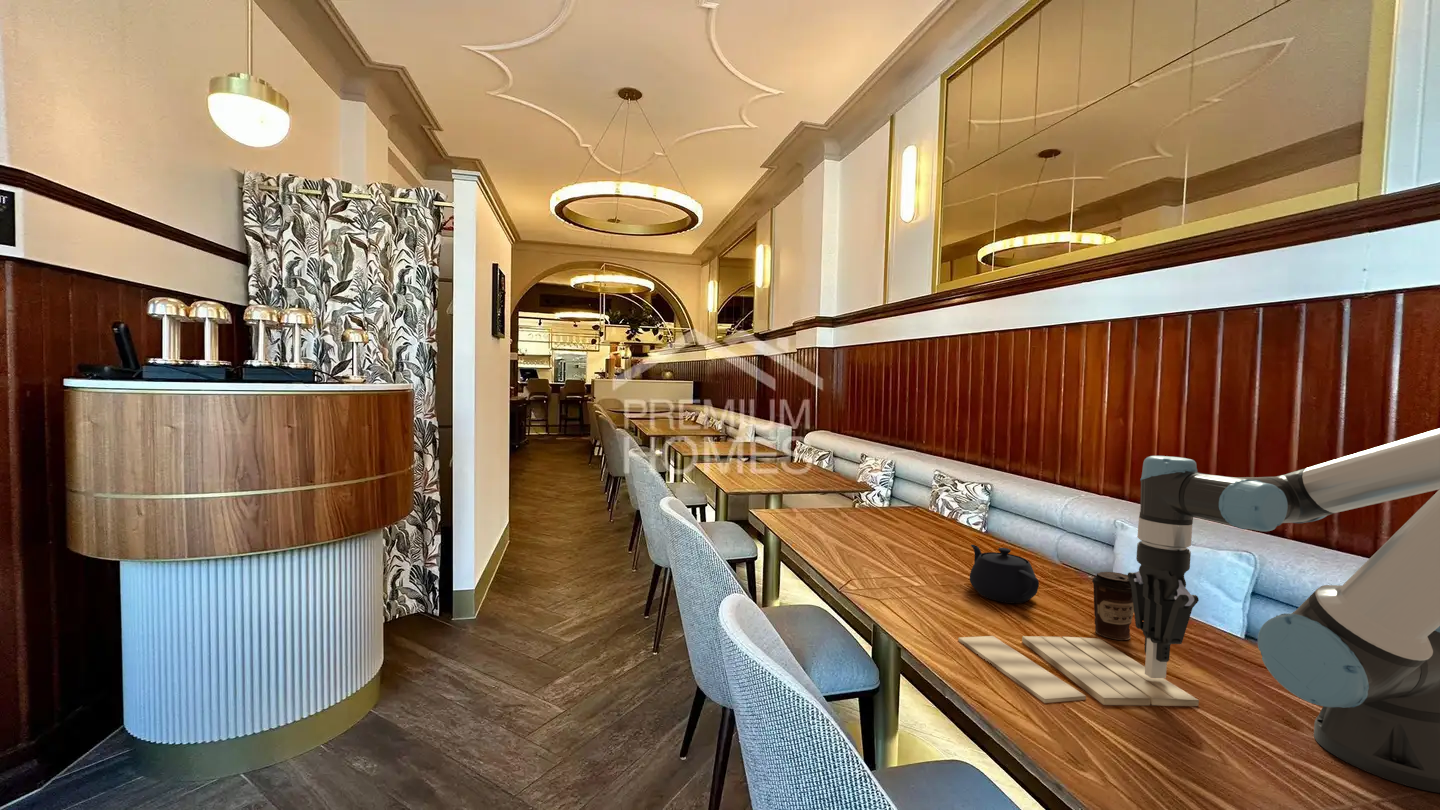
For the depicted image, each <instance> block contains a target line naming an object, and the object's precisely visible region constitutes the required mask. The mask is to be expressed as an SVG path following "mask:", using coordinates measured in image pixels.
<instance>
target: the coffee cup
mask: <svg viewBox="0 0 1440 810" xmlns="http://www.w3.org/2000/svg"><path fill="white" fill-rule="evenodd" d="M1091 582H1092V584H1093V585H1092V586H1093V609H1094V610H1093V611H1094V613H1093V614H1094V626H1095V627H1094V630H1095V633H1096V634H1097V635H1099V636H1101V637H1105V638H1109V639H1111V640H1112V639H1113V640H1118V641H1127V640H1130V639H1132V638H1131V633H1130V631H1131V629H1130V626H1131V625H1132V621H1133V620H1132V619H1133V616H1134V607H1133V598H1132V589H1131V584H1130V581H1129V578H1128V574H1126V573H1125V574H1124V573H1120V572H1114V571H1101V572H1097V573H1096V576H1094V577H1093V578H1092V581H1091Z"/></svg>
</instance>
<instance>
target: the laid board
mask: <svg viewBox="0 0 1440 810" xmlns="http://www.w3.org/2000/svg"><path fill="white" fill-rule="evenodd" d="M1021 637H1022V638H1021V641H1022V643H1023V644H1024V645H1025V646H1026V647H1028V648H1030V650H1032V651H1033V652H1034V653H1036V654H1037V655H1039V656H1040V657H1041V658H1043V660H1044V661H1046V662H1047V663H1048V664H1050V665H1051V666H1053V667H1054V668H1055V669H1056V670H1058V671H1059V672H1060V673H1062V674H1063V675H1064V676H1065V677H1067V678H1068V679H1070V680H1071V681H1072V682H1073V683H1075V684H1076V685H1077V686H1078V687H1080V688H1081V689H1082V690H1083V691H1085V692H1086V693H1088V694H1089V695H1090V696H1091V697H1092V698H1094V699H1095V700H1097V701H1098V702H1099V703H1100V704H1102V705H1103V706H1151V704H1150V698H1149V697H1148V696H1146V695H1145V694H1143V693H1142V692H1140V691H1139V690H1137V689H1136V688H1135V687H1133V686H1132V685H1130V684H1129V683H1127V682H1126V681H1124V680H1123V679H1121V678H1120V677H1118V676H1117V675H1115V674H1114V673H1112V672H1111V671H1110V670H1108V669H1107V668H1105V667H1104V666H1102V665H1101V664H1099V663H1098V662H1096V661H1095V660H1093V659H1092V658H1090V657H1089V656H1087V655H1086V654H1085V653H1083V652H1082V651H1080V650H1079V649H1077V648H1076V647H1074V646H1073V645H1071V644H1070V643H1068V642H1067V641H1065V640H1064V639H1062V636H1043V635H1040V636H1038V635H1037V636H1036V635H1035V636H1034V635H1033V636H1032V635H1031V636H1027V635H1025V636H1024V635H1023V636H1021Z"/></svg>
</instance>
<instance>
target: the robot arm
mask: <svg viewBox="0 0 1440 810" xmlns="http://www.w3.org/2000/svg"><path fill="white" fill-rule="evenodd" d="M1139 479H1140V480H1139V481H1140V506H1139V507H1140V510H1139V517H1138V524H1137V525H1138V527H1137V537H1136V538H1137V539H1138V540H1140V541H1139V542H1137V544H1136V557H1135V559H1136V561H1137V563H1139V564H1140V565H1139V568H1138V571H1135V572H1128V573H1127V575H1128V578H1129V581H1130V584H1131V589H1132V598H1133V607H1134V613H1133V616H1134V622H1135V623H1134V624H1135V627H1136V628H1137V629H1138V630H1139V629H1140V630H1141V631H1142V634H1143V635H1144V653H1145V660H1144V661H1145V662H1144V663H1145V664H1144V666H1145V674H1146V675H1147V676H1149V677H1150V678H1164V679H1166V678H1167V669H1168V668H1167V667H1168V666H1167V664H1168V662H1169V661H1170V655H1171V654H1170V652H1171V645H1182V643H1183V641H1184V637H1185V635H1186V631H1187V627H1188V625H1189V621H1190V617H1191V614H1192V611H1193V608H1194V607H1195V606H1196V604H1198V602H1199V600H1200V599H1199V596H1198V595H1196V594H1191V593H1190V592H1189V590H1188V589H1187V588H1186V586H1187V582H1186V579H1185V574H1186V573H1187V572H1188V571H1189V570H1190V567H1191V557H1192V555H1191V554H1192V553H1191V552H1192V551H1190V547H1191V546H1192V533H1193V522H1194V519H1195V518H1197V519H1202V520H1207V521H1211V522H1215V523H1218V524H1224V525H1227V526H1232V527H1236V528H1237V529H1241V530H1252V531H1257V532H1258V531H1259V532H1266V533H1267V532H1270V531H1273V530H1275V529H1277V527H1279V526H1281V525H1282V524H1289V523H1290V524H1304V523H1306V524H1307V523H1313V522H1316V521H1319V520H1322V519H1324V518H1326V517H1327V516H1330V515H1333V514H1337V513H1340V512H1345V511H1349V510H1354V509H1358V508H1364V507H1367V506H1372V505H1377V504H1381V503H1386V502H1390V501H1393V500H1399V499H1403V498H1408V497H1412V496H1416V495H1420V494H1424V493H1425V494H1426V493H1429V492H1435V491H1436V492H1435V494H1433V495H1432V496H1431V497H1430V498H1429V499H1428V500H1427V501H1426V502H1425V503H1424V504H1423V505H1422V506H1421V507H1420V508H1419V509H1417V510H1416V512H1415V513H1414V514H1413V515H1411V517H1410V518H1409V519H1408V520H1407V521H1406V522H1405V523H1404V524H1403V525H1402V526H1401V527H1400V528H1398V530H1397V531H1395V533H1394V534H1393V535H1392V536H1391V537H1390V538H1388V540H1386V542H1385V543H1383V544H1382V546H1381V547H1379V549H1377V551H1376V552H1375V553H1374V554H1373V555H1371V557H1369V558H1368V559H1367V560H1366V561H1365V562H1364V564H1363V565H1362V566H1360V567H1359V568H1358V569H1357V571H1356V572H1354V573H1353V574H1352V575H1351V576H1350V577H1349V578H1348V579H1347V580H1346V581H1345V582H1344V583H1343V584H1342V585H1334V584H1331V585H1330V584H1329V585H1328V584H1323V585H1321V586H1319V587H1317V588H1316V590H1315V591H1314V592H1313V593H1311V594H1310V596H1308V598H1307V599H1305V601H1303V602H1302V603H1301V605H1300V606H1299V607H1298V608H1296V610H1294V611H1293V612H1290V613H1280V614H1279V615H1276V616H1274V617H1272V618H1269V619H1268V620H1267V621H1265V622H1264V623H1263V624H1262V625H1261V628H1260V629H1259V631H1258V635H1257V648H1258V650H1259V652H1260V655H1261V656H1262V658H1261V659H1262V662H1263V664H1264V666H1265V668H1266V669H1267V671H1268V672H1269V673H1270V675H1271V676H1272V677H1273V678H1274V679H1275V680H1276V681H1277V683H1279V685H1281V686H1282V687H1283V688H1284V689H1286V690H1287V691H1288V692H1290V693H1291V694H1293V695H1294V696H1296V697H1297V698H1298V699H1302V700H1303V701H1305V702H1308V703H1310V704H1313V705H1317V706H1321V707H1322V708H1321V710H1320V711H1319V714H1318V715H1317V716H1316V718H1315V720H1314V727H1313V738H1314V739H1315V741H1316V742H1317V743H1318V745H1320V746H1321V748H1324V750H1326V751H1327V752H1328V753H1330V754H1332V755H1333V756H1335V757H1337V758H1338V759H1340V760H1342V761H1343V762H1345V763H1348V764H1350V765H1352V766H1354V767H1356V768H1358V769H1360V770H1363V771H1365V772H1367V773H1369V774H1372V775H1375V776H1377V777H1380V778H1382V779H1385V780H1388V781H1391V782H1394V783H1396V784H1399V785H1404V786H1407V787H1411V788H1415V789H1417V790H1423V791H1428V792H1432V793H1438V794H1440V427H1439V428H1436V429H1432V430H1429V431H1426V432H1423V433H1419V434H1415V435H1412V436H1409V437H1405V438H1401V439H1399V440H1395V441H1393V442H1389V443H1385V444H1382V445H1379V446H1375V447H1372V448H1369V449H1366V450H1362V451H1358V452H1356V453H1353V454H1349V455H1344V456H1342V457H1341V456H1340V457H1338V458H1336V459H1335V458H1334V459H1332V460H1328V461H1326V462H1322V463H1318V464H1315V465H1312V466H1309V467H1306V468H1302V469H1298V470H1295V471H1292V472H1288V473H1286V474H1281V475H1277V476H1258V477H1257V476H1256V477H1255V476H1253V477H1251V476H1250V477H1249V476H1246V477H1245V476H1244V477H1240V476H1238V477H1233V476H1224V475H1216V474H1208V473H1204V472H1203V473H1202V472H1199V471H1198V468H1197V462H1196V461H1195V460H1194V459H1191V458H1186V457H1180V456H1168V455H1166V456H1165V455H1150V456H1146V458H1144V460H1143V463H1142V472H1141V478H1139Z"/></svg>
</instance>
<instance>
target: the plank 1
mask: <svg viewBox="0 0 1440 810" xmlns="http://www.w3.org/2000/svg"><path fill="white" fill-rule="evenodd" d="M958 642H959V643H960V644H962V645H963V644H964V645H963V646H965V647H966V648H968V649H969V650H970V651H972V652H973V653H975V654H976V655H977V654H978V655H977V656H979V657H980V658H982V659H983V660H984V659H985V660H984V661H986V662H987V661H988V662H989V664H990V663H991V664H992V665H991V664H990V665H991V666H993V667H994V668H995V667H996V668H995V669H997V670H998V671H1000V672H1001V673H1002V674H1004V675H1005V676H1006V677H1008V678H1010V679H1011V680H1012V681H1014V683H1016V684H1018V685H1019V686H1020V687H1022V688H1023V689H1024V690H1026V691H1027V692H1029V693H1030V694H1031V695H1033V696H1034V697H1036V698H1037V699H1038V700H1040V701H1041V702H1043V703H1044V704H1048V703H1060V702H1061V703H1062V702H1073V701H1083V700H1085V701H1086V700H1087V695H1085V694H1084V693H1082V692H1080V691H1079V690H1078V689H1076V688H1074V687H1073V686H1072V685H1070V684H1069V683H1067V682H1065V681H1063V679H1060V677H1058V676H1056V675H1055V674H1053V673H1051V672H1049V670H1046V669H1045V668H1044V667H1042V666H1040V665H1039V664H1038V663H1036V662H1034V661H1033V660H1031V659H1030V658H1028V657H1027V656H1025V655H1023V654H1022V653H1020V652H1019V651H1017V650H1016V649H1014V648H1012V647H1011V646H1010V645H1008V644H1006V643H1004V642H1003V641H1002V640H1000V639H999V638H997V637H996V636H994V635H984V636H982V635H981V636H980V635H979V636H965V637H964V636H963V637H958ZM988 662H987V663H988Z"/></svg>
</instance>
